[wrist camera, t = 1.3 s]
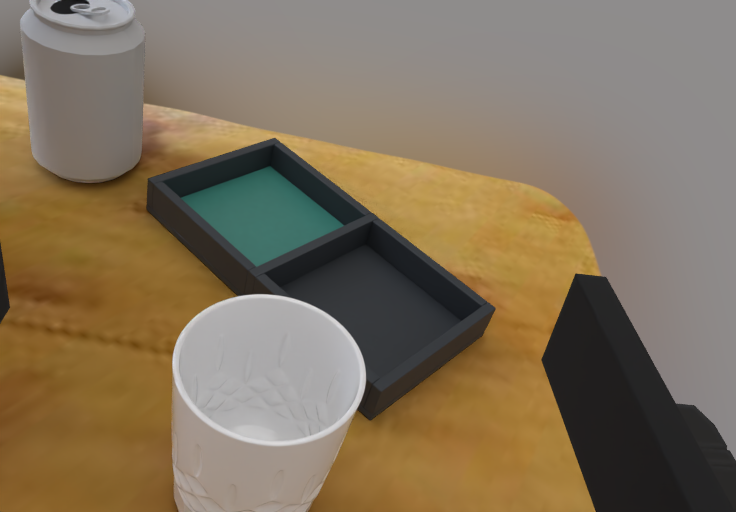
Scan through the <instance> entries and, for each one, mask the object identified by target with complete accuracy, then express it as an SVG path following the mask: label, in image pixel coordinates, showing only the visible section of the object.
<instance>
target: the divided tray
mask: <svg viewBox="0 0 736 512" xmlns="http://www.w3.org/2000/svg"><path fill="white" fill-rule="evenodd" d="M147 210H148V211H149V212H150V213H151V214H152V215H153V216H154V217H155V218H156V219H157V220H158V221H159V222H160V223H161V224H162V225H164V226H165V227H166V228H167V229H168V230H169V231H170V232H171V233H172V234H173V235H174V236H175V237H176V238H177V239H178V240H179V241H180V242H182V243H183V244H184V245H185V246H186V247H187V248H188V249H189V250H190V251H191V252H192V253H193V254H194V255H195V256H196V257H197V258H198V259H200V260H201V261H202V262H203V263H204V264H205V265H206V266H207V267H208V268H209V269H210V270H211V271H212V272H213V273H214V274H215V275H216V276H217V277H219V278H220V279H221V280H222V281H223V282H224V283H225V284H226V285H227V286H228V287H229V288H230V289H231V290H232V291H233V292H234V293H235V294H237V295H238V296H244V295H253V294H269V295H279V296H284V297H289V298H293V299H297V300H300V301H303V302H305V303H308V304H310V305H313V306H315V307H317V308H319V309H320V310H322V311H324V312H326V313H327V314H329V315H330V316H331V317H333V318H334V319H335V320H337V321H338V322H339V323H340V324H341V325H342V326H343V327H344V328H345V329H346V330H347V331H348V332H349V333H350V335H351V336H352V337H353V339H354V340H355V342H356V343H357V345H358V347H359V349H360V351H361V354H362V356H363V359H364V363H365V369H366V385H365V390H364V394H363V397H362V400H361V402H360V404H359V407H358V410H359V411H360V412H361V413H362V414H363V415H365V416H366V417H367V418H368V419H369V420H372V419H373V418H374V417H376V416H377V415H378V414H380V413H381V412H382V411H384V410H385V409H386V408H388V407H389V406H390V405H391V404H393V403H394V402H395V401H397V400H398V399H399V398H401V397H402V396H403V395H405V394H406V393H407V392H409V391H410V390H411V389H413V388H414V387H415V386H417V385H418V384H419V383H421V382H422V381H423V380H424V379H426V378H427V377H428V376H430V375H431V374H432V373H434V372H435V371H436V370H438V369H439V368H440V367H442V366H443V365H444V364H446V363H447V362H448V361H450V360H451V359H452V358H454V357H455V356H456V355H457V354H459V353H460V352H461V351H463V350H464V349H465V348H467V347H468V346H469V345H471V344H472V343H473V342H475V341H476V340H477V339H479V338H480V337H481V336H482V335H483V333H484V331H485V329H486V327H487V325H488V323H489V321H490V319H491V317H492V315H493V313H494V311H495V309H496V308H495V307H494V306H492V305H491V304H490V303H487V301H486V300H484V299H483V298H482V297H480V296H479V295H478V294H477V293H475V292H474V291H473V290H471V289H470V288H469V287H467V286H466V285H465V284H464V283H462V282H461V281H460V280H458V279H457V278H456V277H455V276H453V275H452V274H451V273H449V272H448V271H447V270H445V269H444V268H443V267H442V266H440V265H439V264H438V263H436V262H435V261H434V260H432V259H431V258H430V257H429V256H427V255H426V254H425V253H423V252H422V251H421V250H420V249H418V248H417V247H416V246H414V245H413V244H412V243H410V242H409V241H408V240H407V239H405V238H404V237H403V236H401V235H400V234H399V233H397V232H396V231H395V230H394V229H392V228H391V227H390V226H388V225H387V224H386V223H385V222H383V221H382V220H381V219H379V218H378V217H377V216H376V215H374V214H373V213H371V212H370V211H369V210H368V209H366V208H365V207H364V206H363V205H361V204H360V203H359V202H357V201H356V200H355V199H353V198H352V197H351V196H350V195H348V194H347V193H346V192H344V191H343V190H342V189H340V188H339V187H338V186H337V185H335V184H334V183H333V182H331V181H330V180H329V179H328V178H326V177H325V176H324V175H322V174H321V173H320V172H318V171H317V170H316V169H315V168H313V167H312V166H311V165H309V164H308V163H307V162H305V161H304V160H303V159H302V158H300V157H299V156H298V155H296V154H295V153H294V152H293V151H291V150H290V149H289V148H287V147H286V146H285V145H283V144H282V143H280V141H278V140H277V139H276V138H273V139H270V140H267V141H263V142H260V143H257V144H254V145H251V146H248V147H245V148H242V149H239V150H235V151H232V152H229V153H226V154H223V155H220V156H217V157H214V158H210V159H207V160H204V161H201V162H198V163H195V164H192V165H189V166H186V167H182V168H179V169H176V170H173V171H170V172H167V173H164V174H161V175H158V176H154V177H151V178H148V186H147Z"/></svg>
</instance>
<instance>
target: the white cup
mask: <svg viewBox="0 0 736 512" xmlns="http://www.w3.org/2000/svg"><path fill="white" fill-rule="evenodd" d="M365 385H366V369H365V363H364V359H363V356H362V354H361V351H360V349H359V347H358V345H357V343H356V342H355V340H354V339H353V337H352V336H351V335H350V333H349V332H348V331H347V330H346V329H345V328H344V327H343V326H342V325H341V324H340V323H339V322H338V321H337V320H335V319H334V318H333V317H331V316H330V315H329V314H327V313H326V312H324V311H322V310H320V309H319V308H317V307H315V306H313V305H310V304H308V303H305V302H303V301H300V300H297V299H293V298H289V297H284V296H279V295H269V294H253V295H244V296H238V297H233V298H230V299H226V300H223V301H221V302H218V303H216V304H214V305H212V306H210V307H208V308H206V309H205V310H203V311H202V312H200V313H199V314H198V315H196V316H195V317H194V318H193V319H192V320H191V321H190V322H189V323H188V324H187V325H186V327H185V328H184V329H183V331H182V332H181V334H180V336H179V338H178V340H177V342H176V345H175V348H174V352H173V359H172V423H171V433H172V463H173V471H174V499H175V502H176V505H177V508H178V511H179V512H308V511H309V509H310V507H311V505H312V502H313V500H314V499H315V498H316V497H317V495H318V494H319V492H320V490H321V488H322V485H323V483H324V481H325V479H326V477H327V475H328V473H329V471H330V469H331V466H332V465H333V463H334V461H335V459H336V457H337V455H338V452H339V450H340V448H341V445H342V443H343V441H344V438H345V436H346V434H347V432H348V429H349V427H350V425H351V422H352V420H353V418H354V415H355V413H356V411H357V409H358V407H359V404H360V402H361V400H362V397H363V394H364V390H365Z"/></svg>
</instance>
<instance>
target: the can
mask: <svg viewBox="0 0 736 512" xmlns="http://www.w3.org/2000/svg"><path fill="white" fill-rule="evenodd" d="M29 2H30V7H31V8H30V9H29V10H28V11H27V12H26V13H25V14H24V16H23V17H22V18H21V20H20V26H21V38H22V49H23V60H24V71H25V82H26V94H27V105H28V116H29V127H30V138H31V148H32V154H33V157H34V158H35V159H36V161H37V162H38V163H39V164H40V165H41V166H43V167H44V168H46V169H47V170H49V171H51V172H52V173H54V174H56V175H58V176H59V177H61V178H64V179H67V180H70V181H74V182H82V183H98V182H104V181H108V180H112V179H115V178H117V177H118V176H120V175H122V174H124V173H125V172H127V171H129V170H131V169H132V168H133V167H134V166H135V165H136V164H137V163H138V162H139V161H140V157H141V153H142V129H143V94H144V61H145V58H144V57H145V32H144V29H143V27H142V25H141V24H140V23H139V22H138V21H137V20H136V18H135V14H136V11H135V9H134V6H133V5H132V4H131V3H130V2H129V1H128V0H29Z"/></svg>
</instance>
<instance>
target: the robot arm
mask: <svg viewBox="0 0 736 512" xmlns="http://www.w3.org/2000/svg"><path fill="white" fill-rule="evenodd" d="M9 308H10V304H9V298H8V291H7V284H6V277H5V271H4V264H3V257H2V250H1V244H0V323H1V321H2V320H3V318H4V316H5V315H6V313H7V312H8V310H9ZM542 363H543V365H544V368H545V371H546V374H547V377H548V379H549V382H550V385H551V388H552V391H553V393H554V396H555V399H556V402H557V405H558V407H559V410H560V413H561V416H562V418H563V421H564V424H565V427H566V430H567V432H568V435H569V438H570V441H571V444H572V446H573V449H574V452H575V455H576V457H577V460H578V463H579V466H580V469H581V471H582V474H583V477H584V480H585V483H586V485H587V488H588V491H589V494H590V497H591V499H592V502H593V505H594V508H595V510H596V512H736V460H735V459H734V457H733V455H732V454H731V452H730V451H729V450H727V445H726V444H725V442H724V440H723V439H722V437H721V435H720V433H719V432H718V430H717V428H716V427H715V425H714V424H713V423H712V422H711V421H710V420H709V419H708V418H707V417H706V416H705V415H704V414H703V413H702V412H700V411H699V410H698V409H697V408H696V407H695V406H694V405H685V404H676V403H675V401H674V400H673V398H672V396H671V394H670V392H669V390H668V389H667V387H666V385H665V383H664V381H663V380H662V378H661V376H660V374H659V372H658V370H657V369H656V367H655V365H654V363H653V361H652V360H651V358H650V356H649V354H648V352H647V350H646V349H645V347H644V345H643V343H642V341H641V340H640V338H639V336H638V334H637V332H636V330H635V329H634V327H633V325H632V323H631V321H630V320H629V318H628V316H627V314H626V312H625V310H624V309H623V307H622V305H621V303H620V301H619V300H618V298H617V296H616V294H615V293H614V290H613V289H612V287H611V285H610V283H609V282H608V279H607V278H606V277H601V276H592V275H584V274H575V277H574V279H573V282H572V284H571V287H570V289H569V292H568V294H567V297H566V299H565V302H564V304H563V307H562V309H561V312H560V314H559V317H558V319H557V322H556V324H555V327H554V330H553V332H552V335H551V337H550V340H549V342H548V345H547V347H546V350H545V352H544V355H543V357H542Z"/></svg>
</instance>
